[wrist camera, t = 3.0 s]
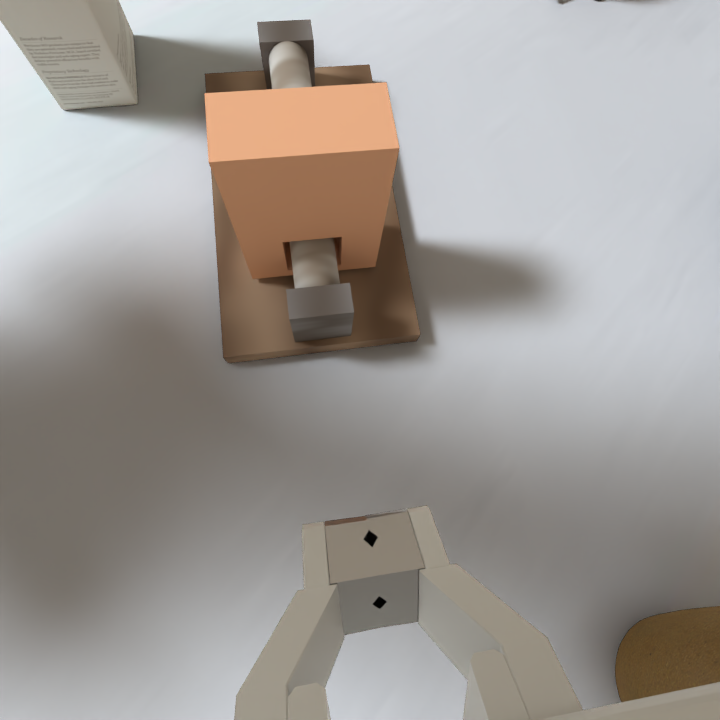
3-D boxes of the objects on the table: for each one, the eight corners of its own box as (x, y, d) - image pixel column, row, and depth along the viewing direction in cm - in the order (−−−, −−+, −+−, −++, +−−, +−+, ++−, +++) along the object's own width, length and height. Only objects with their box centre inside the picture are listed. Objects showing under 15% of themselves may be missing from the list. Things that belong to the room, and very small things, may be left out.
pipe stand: (228, 363, 32) (205, 336, 27) (209, 89, 39) (188, 19, 33) (416, 340, 34) (434, 310, 28) (367, 79, 40) (374, 11, 35)
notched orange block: (252, 279, 32) (208, 162, 21) (248, 230, 33) (204, 93, 22) (375, 266, 33) (399, 148, 22) (367, 219, 34) (386, 82, 23)
